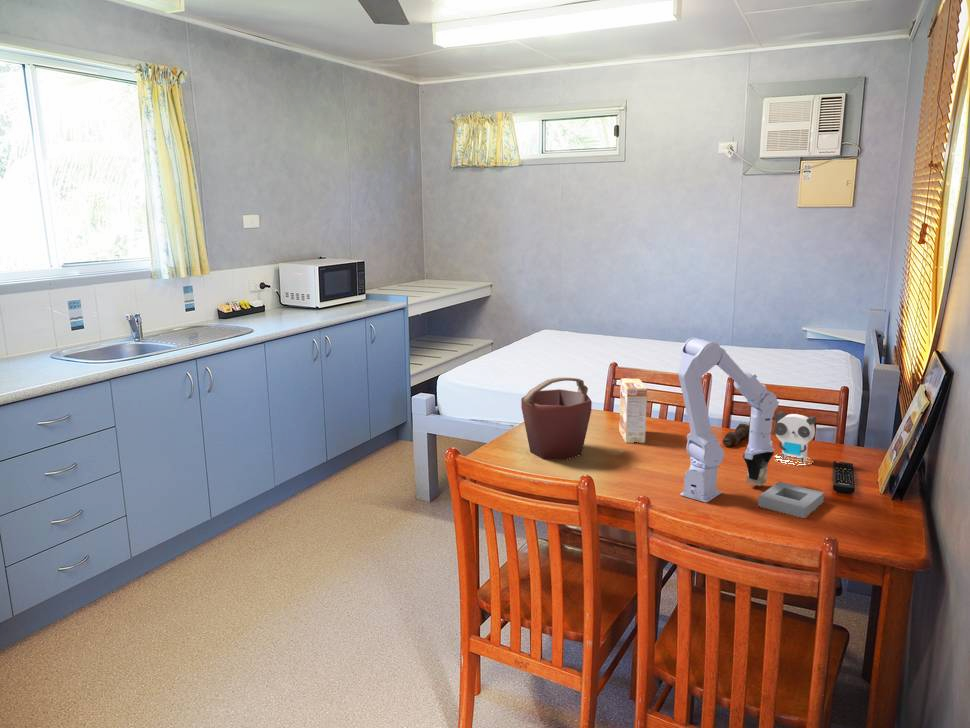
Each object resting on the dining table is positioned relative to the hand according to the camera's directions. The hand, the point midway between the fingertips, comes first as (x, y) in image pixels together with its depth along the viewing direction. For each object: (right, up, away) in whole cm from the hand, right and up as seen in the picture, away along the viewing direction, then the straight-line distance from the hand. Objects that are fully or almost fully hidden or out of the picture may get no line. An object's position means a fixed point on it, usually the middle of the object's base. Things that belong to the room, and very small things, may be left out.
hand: (756, 476), depth 202 cm
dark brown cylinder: (+8, +5, +41) cm, 42 cm away
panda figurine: (+20, +2, +23) cm, 30 cm away
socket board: (+5, -6, -12) cm, 14 cm away
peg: (0, -2, 0) cm, 2 cm away
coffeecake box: (-26, +6, +48) cm, 55 cm away
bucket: (-54, +3, +32) cm, 63 cm away
